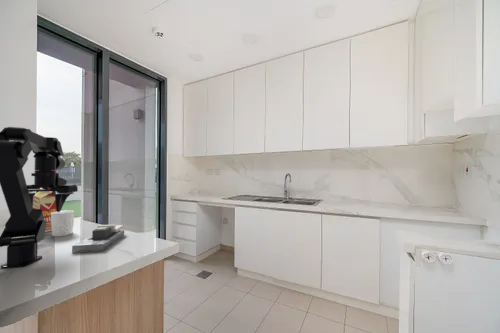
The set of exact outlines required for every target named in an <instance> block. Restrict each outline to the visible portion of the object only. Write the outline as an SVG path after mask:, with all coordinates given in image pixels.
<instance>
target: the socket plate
mask: <svg viewBox="0 0 500 333" xmlns="http://www.w3.org/2000/svg"><path fill="white" fill-rule="evenodd" d="M124 236H125V230H124V229H121V230H119V231H117V232H111V237H109V238H107V239H95V240H92V234H91V235H90V236H87V237H86V238H83V239H82V240H80V241H79V242H76V243H75V244H73V245H71V253H72V254H75V253H95V252H105V251H106V250H108V249H109V248H111V247H112V246H113V245H114V244H115V243H117V242H118V241H120V239H122V238H123V237H124Z"/></svg>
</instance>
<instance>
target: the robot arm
mask: <svg viewBox="0 0 500 333" xmlns="http://www.w3.org/2000/svg"><path fill="white" fill-rule="evenodd" d="M61 143H62V142H61V141H60V140H59V139H58V138H57V137H49V136H47V137H46V136H43V135H41V134H38V133H36V132H35V131H32V130H31V129H30V128H27V127H19V126H18V127H17V126H8V127H4V128H3V129H2V130H1V131H0V187H1V191H2V194H3V197H4V200H5V204H6V206H7V208H8V213H9V215H10V217H9V218H8V220H6V223H5V224H4V228H3V231H2V233H1V234H0V248H3V247H6V263H4V264H2V265H0V267H3V266H10V267H9V268H18V267H27V266H29V265H30V264H32V263H34V262H37V261H38V260H40V259H42V258H43V255H38V246H39V245H38V243H39V242H41V241H42V240H44V239H45V235H46V232H45V230H46V221H45V220H44V217H43V212H42V210H41V209H33V197H34V195H35V194H36V193H37V192H39V191H51V192H56V193H55V194H54V196H55V201H56V209H57V212H60V211H62V209H63V207H64V204H65V202H66V200H67V199H68V198H69V196H70V195H74V193H75V192H78V188H79V187H78V186H77V184H67V182H68V180H67V179H64V178H63V177H60V174H59V173H58V172H57V171H60V170H62V169H64V168H65V167H66V161H65V159H63V158H62V157H63V156H64V151H63V148H62V144H61ZM31 152H32V153H33V154H34V155H33V156H32V157H33V158H34V172H32V173H31V177H34V178H33V179H34V180H33V182H34V183H33V184H27V181H26V177H25V174H24V169H23V168H24V166H25V165H26V164H27V161H28V160H29V154H30V153H31ZM40 188H42V189H40Z"/></svg>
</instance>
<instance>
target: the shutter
mask: <svg viewBox="0 0 500 333" xmlns="http://www.w3.org/2000/svg"><path fill="white" fill-rule="evenodd" d="M99 227H111V232H117V231H119V230H123V229H124V224H100V225H97V228H99Z"/></svg>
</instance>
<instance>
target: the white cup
mask: <svg viewBox="0 0 500 333" xmlns="http://www.w3.org/2000/svg"><path fill="white" fill-rule="evenodd" d="M74 221H75V210H73V209H67V210H61V211H60V212H57V211H56V212H52V213H51V228H52V231H51V237H63V236H69V235H71V234H73V232H74Z"/></svg>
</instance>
